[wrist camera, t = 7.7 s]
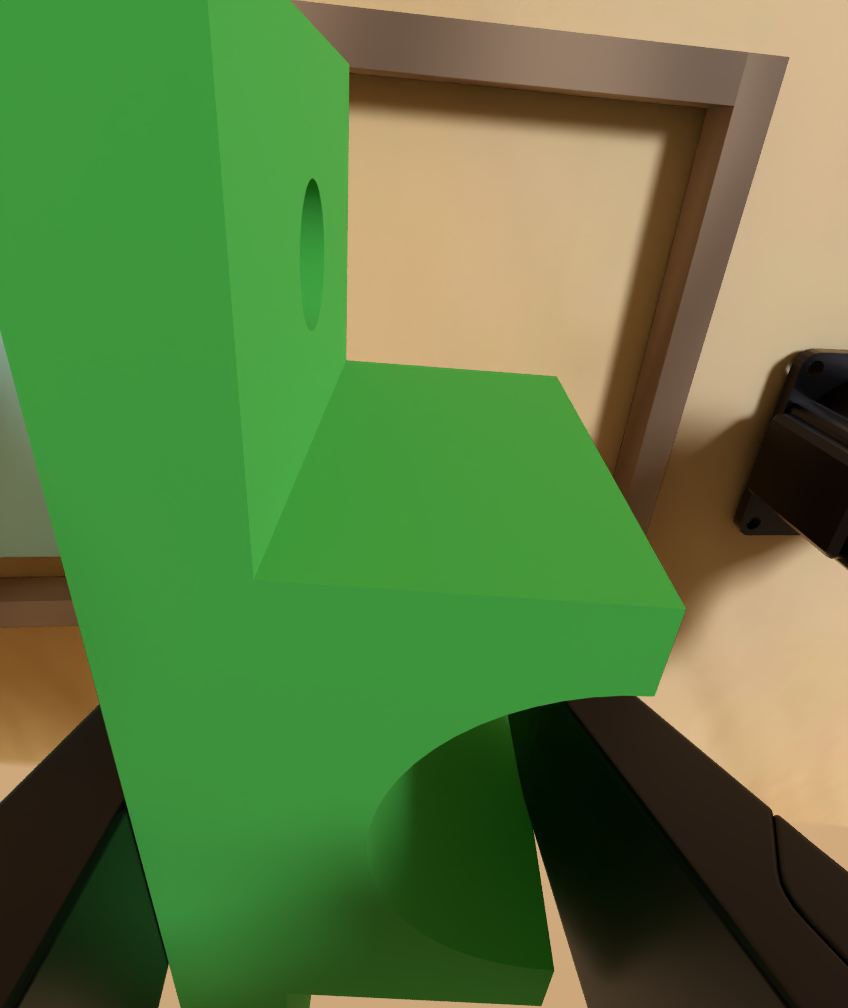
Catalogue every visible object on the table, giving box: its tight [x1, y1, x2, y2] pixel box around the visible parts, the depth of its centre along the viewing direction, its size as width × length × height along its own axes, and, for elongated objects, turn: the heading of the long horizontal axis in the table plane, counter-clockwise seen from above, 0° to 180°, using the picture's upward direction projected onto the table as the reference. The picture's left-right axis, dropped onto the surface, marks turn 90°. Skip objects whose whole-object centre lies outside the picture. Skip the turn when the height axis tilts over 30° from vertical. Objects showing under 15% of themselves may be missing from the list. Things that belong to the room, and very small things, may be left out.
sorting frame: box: [0, 0, 789, 628], centre depth 16 cm, size 29×16×1 cm, turn 86°
